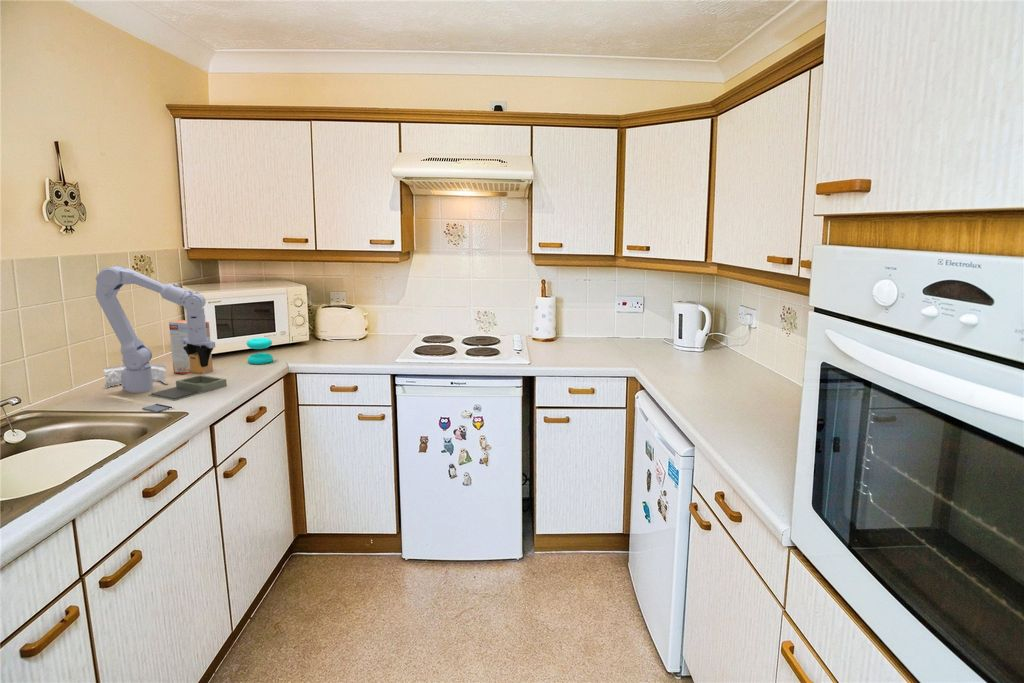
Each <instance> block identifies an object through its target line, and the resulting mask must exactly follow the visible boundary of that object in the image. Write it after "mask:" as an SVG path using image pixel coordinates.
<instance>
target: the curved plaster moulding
mask: <svg viewBox="0 0 1024 683" xmlns="http://www.w3.org/2000/svg"><path fill="white" fill-rule="evenodd" d="M150 365H151V372H152V382H153V383H157V382H161V383H163V384H167V385H168V383H167V382H166V380H165V379H166V376H165V372H166V371H167V370H168V368H167V366H166V365H164V364H157V363H150ZM124 368H126V366H125V365H124V364H123V365H119V366H117V365H116V366H109V367H103V372H104V373H105V384H104V389H107V388H106V387H109V388H111V387H110V386H113V387H115V386H114V385H118V384H122V381H121V372H122V370H123V369H124ZM118 386H119V385H118Z"/></svg>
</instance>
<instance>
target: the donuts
mask: <svg viewBox="0 0 1024 683" xmlns="http://www.w3.org/2000/svg"><path fill="white" fill-rule="evenodd" d="M272 344H273V341H272V339H271V338H267V337H256V338H251V339H248V340H247V341H246V346H247V347H248V348H250V349H254V350H263V349H267V348H269V347H271V346H272ZM273 360H274V357H273V355H271V354H270V353H267V352H257V353H253V354H250V355H249V356H248V357H247V361H248V363H249V364H252V365H265V364H264V363H266V364H269V362H270V363H271V362H273Z"/></svg>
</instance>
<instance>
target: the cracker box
mask: <svg viewBox="0 0 1024 683" xmlns="http://www.w3.org/2000/svg"><path fill="white" fill-rule="evenodd" d="M205 322H206V335H207V339H209V340H210V341H211V331H210V330H211V329H210V322H209V321H205ZM168 325H169V336H170V348H171V358H172V367H173V368H172V369H173V370H172V371H173V374H176V373H180V374H179V375H189V374H195V375H206V374H208V373H212V372H214V370H213V369H214V368H213V356H212V353H211V354H210V367H211V370H207V371H203V372H199V373H198V372H192V371H190V361H189V356H188V354H187V353H186V351H185V350H184V349H183V347H184V346H186V345H187V344H181V339H183V338H188V328H187V319H186V320H184V319H177V320H172V321H169V322H168Z"/></svg>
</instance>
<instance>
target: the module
mask: <svg viewBox="0 0 1024 683" xmlns="http://www.w3.org/2000/svg"><path fill="white" fill-rule="evenodd" d="M189 361H190V371H192V372H198V373H199V372H203V371H207V370H211V367H210V357H209V361H208V366H205V367H201V364H200V359H199V355H198V353H197V352H196V353H195V354H190V355H189Z"/></svg>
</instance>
